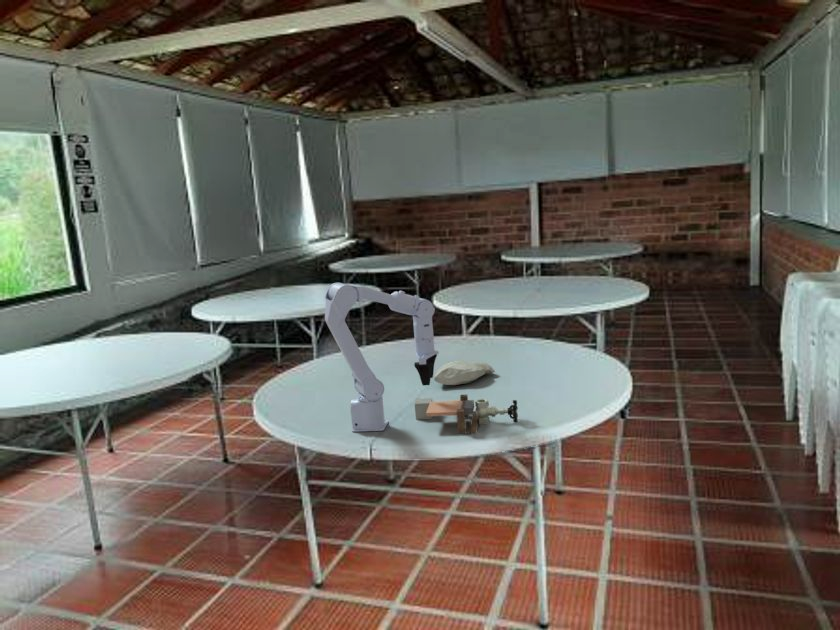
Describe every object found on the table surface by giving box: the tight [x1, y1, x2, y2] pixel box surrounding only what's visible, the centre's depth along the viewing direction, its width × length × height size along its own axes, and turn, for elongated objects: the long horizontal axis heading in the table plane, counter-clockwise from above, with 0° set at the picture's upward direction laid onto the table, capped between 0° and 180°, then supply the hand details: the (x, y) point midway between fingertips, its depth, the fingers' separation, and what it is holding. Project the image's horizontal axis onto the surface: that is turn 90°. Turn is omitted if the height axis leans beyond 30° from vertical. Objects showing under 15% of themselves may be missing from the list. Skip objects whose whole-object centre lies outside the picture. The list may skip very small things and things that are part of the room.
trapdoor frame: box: [456, 394, 479, 435], centre depth 190 cm, size 5×15×6 cm, turn 172°
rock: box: [433, 359, 496, 386], centre depth 235 cm, size 19×7×25 cm
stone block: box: [414, 397, 433, 420], centre depth 200 cm, size 5×5×5 cm
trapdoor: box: [426, 399, 475, 417], centre depth 190 cm, size 13×10×2 cm
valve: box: [474, 398, 519, 425], centre depth 190 cm, size 7×7×12 cm
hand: (427, 381), depth 200 cm, fingers open, 7 cm apart
